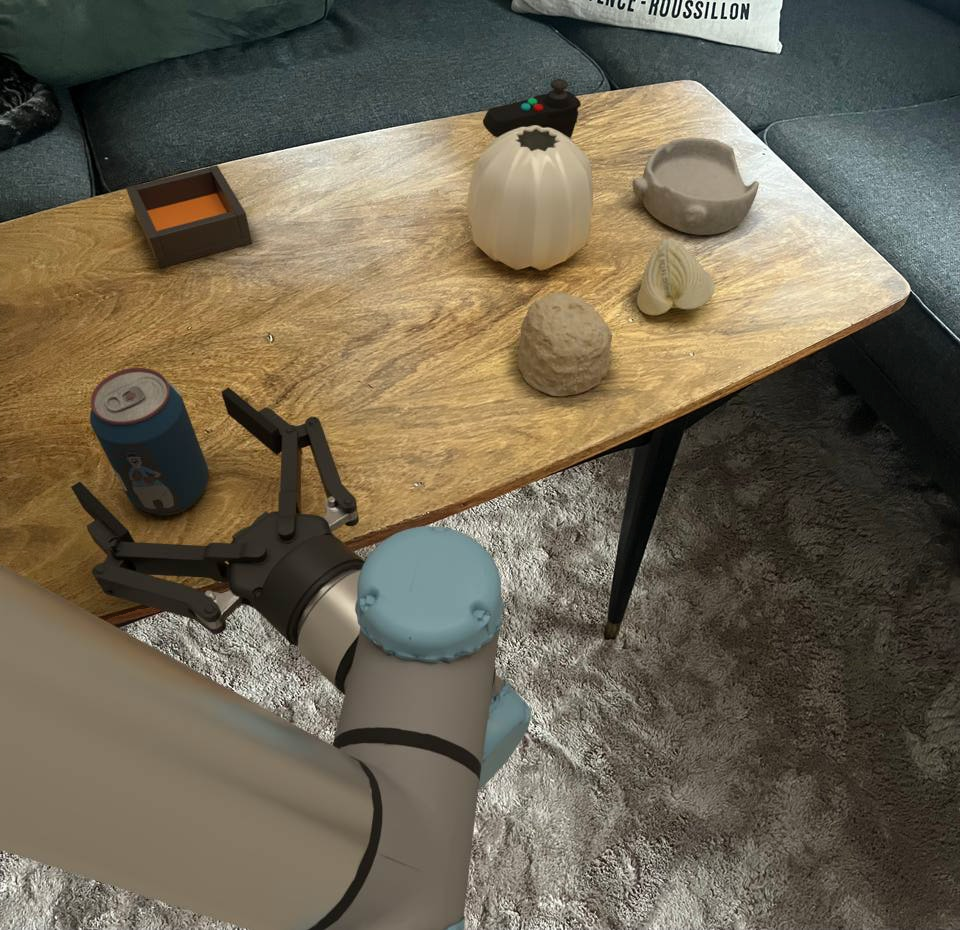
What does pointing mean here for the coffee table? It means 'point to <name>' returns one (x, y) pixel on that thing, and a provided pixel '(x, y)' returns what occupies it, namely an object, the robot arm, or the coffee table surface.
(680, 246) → the seashell
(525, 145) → the vase
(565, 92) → the controller
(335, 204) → the coffee table surface
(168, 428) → the soda can
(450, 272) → the coffee table surface
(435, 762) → the robot arm
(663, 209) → the dish
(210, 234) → the square wooden tray
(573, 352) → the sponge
